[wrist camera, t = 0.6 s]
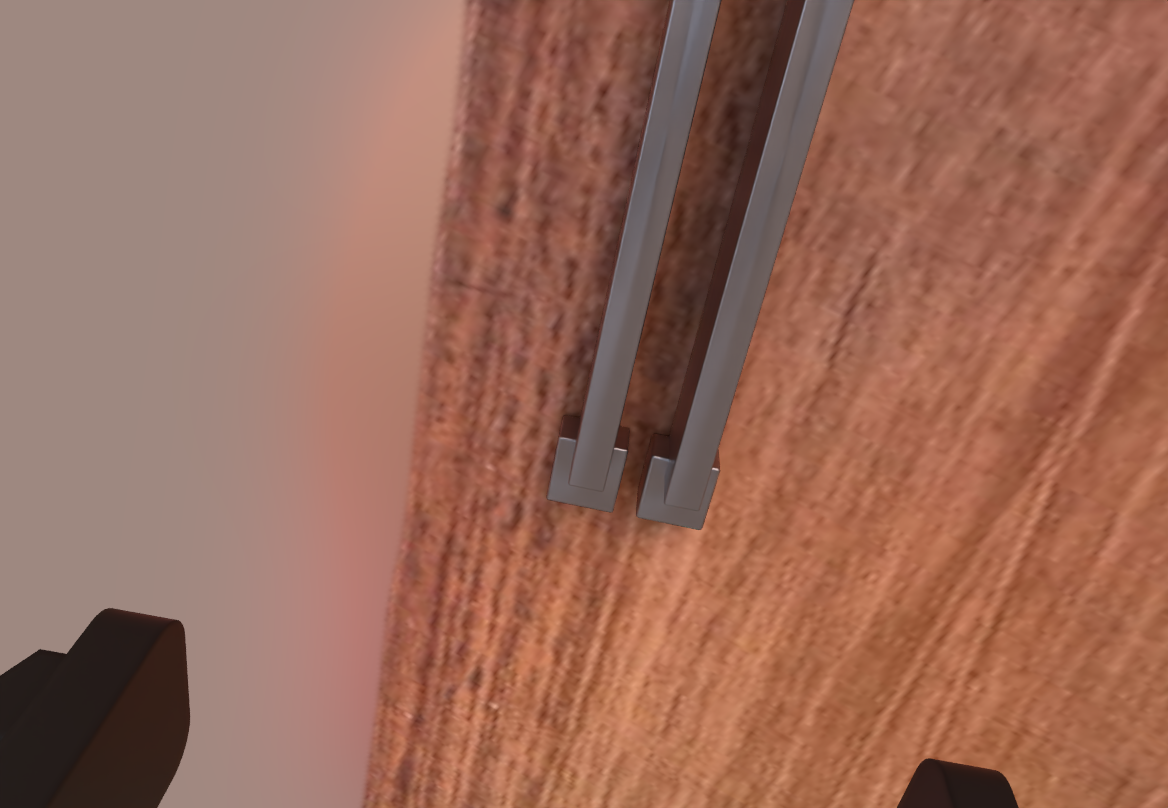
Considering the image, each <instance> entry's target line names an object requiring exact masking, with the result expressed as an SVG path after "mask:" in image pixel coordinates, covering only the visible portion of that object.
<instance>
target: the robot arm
mask: <svg viewBox="0 0 1168 808" xmlns="http://www.w3.org/2000/svg"><path fill="white" fill-rule="evenodd" d="M188 692H189V691H188V675H187V661H186V644H185V631H184V627H183V625H182V623H181V622H180V621H179V620H174V619H168V618H162V617H157V616H152V615H146V614H140V613H135V612H129V611H123V610H118V609H113V608H108V609H105V610H103V611H101V612H100V613H99V614H98V615H97V616H96V617H95V618H94V619H93V620H92V621H91V623H90V624H89V626H88V627H87V628H86V629H85V631H84V632H83V633H82V635H81V636H80V637H79V639H78V640H77V641H76V642H75V644H74V645H73V646H72V648H71V649H70V650H69V652H68V653H67V654H64V653H58V652H52V651H46V650H41V649H40V650H38V651H37V652H35V653H34V654H32V655H31V656H29V657H28V658H26V659H25V660H23V661H22V662H20V663H19V664H17V665H16V666H14V667H13V668H11V669H10V670H8V671H7V672H5V673H4V674H2V675H1V676H0V808H157V807H158V805H159V803H160V801H161V800H162V798H163V796H164V794H165V792H166V791H167V789H168V787H169V785H170V783H171V781H172V779H173V777H174V775H175V773H176V771H177V769H178V766H179V764H180V761H181V759H182V756H183V753H184V749H185V746H186V742H187V737H188V732H189V726H190V708H189V693H188ZM897 808H1018V805H1017V802H1016V800H1015V797H1014V794H1013V791H1012V789H1011V787H1010V784H1009V782H1008V781H1007V779H1006V778H1005V777H1004V775H1003V774H1002V773H1000V772H999V771H996V770H991V769H985V768H980V767H974V766H969V765H963V764H958V763H952V762H946V761H941V760H935V759H930V758H929V759H925V760H924V761H922V762H921V763H920V765H919V766H918V768H917V769H916V771H915V773H914V775H913V777H912V779H911V781H910V783H909V785H908V787H907V789H906V791H905V793H904V795H903V797H902V799H901V801H900V803H899V805H898V806H897Z"/></svg>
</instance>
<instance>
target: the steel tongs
mask: <svg viewBox="0 0 1168 808" xmlns="http://www.w3.org/2000/svg"><path fill="white" fill-rule="evenodd" d="M853 3H854V0H787V4H786V7H785V11H784V15H783V19H782V22H781V26H780V30H779V33H778V37H777V41H776V44H775V48H774V52H773V55H772V59H771V63H770V66H769V70H768V74H767V78H766V81H765V85H764V89H763V92H762V96H761V100H760V103H759V107H758V111H757V114H756V118H755V122H754V125H753V129H752V133H751V137H750V140H749V144H748V148H747V151H746V155H745V159H744V162H743V166H742V170H741V173H740V177H739V181H738V184H737V188H736V192H735V196H734V199H733V203H732V207H731V210H730V214H729V218H728V221H727V225H726V229H725V232H724V236H723V240H722V243H721V247H720V251H719V255H718V258H717V262H716V266H715V269H714V273H713V277H712V280H711V284H710V288H709V291H708V295H707V299H706V302H705V306H704V310H703V314H702V317H701V321H700V325H699V328H698V332H697V336H696V339H695V343H694V347H693V350H692V354H691V358H690V361H689V365H688V369H687V373H686V376H685V380H684V384H683V387H682V391H681V395H680V398H679V402H678V406H677V409H676V413H675V417H674V420H673V424H672V428H671V431H670V435H669V436H665V435H660V434H653V435H652V437H651V441H650V445H649V449H648V453H647V457H646V460H645V464H644V468H643V472H642V476H641V480H640V483H639V487H638V491H637V504H636V516H637V517H638V518H642V519H647V520H652V521H657V522H662V523H667V524H672V525H676V526H681V527H686V528H691V529H696V530H701V529H702V528H703V525H704V522H705V518H706V515H707V512H708V509H709V505H710V502H711V499H712V496H713V492H714V489H715V486H716V483H717V479H718V476H719V473H720V462H719V450H718V448H719V445H720V441H721V438H722V435H723V431H724V428H725V425H726V421H727V418H728V415H729V412H730V408H731V405H732V402H733V398H734V395H735V392H736V388H737V385H738V382H739V379H740V375H741V372H742V369H743V365H744V362H745V359H746V355H747V352H748V349H749V346H750V342H751V339H752V336H753V332H754V329H755V326H756V323H757V319H758V316H759V313H760V309H761V306H762V303H763V299H764V296H765V293H766V290H767V286H768V283H769V280H770V276H771V273H772V270H773V266H774V263H775V260H776V257H777V253H778V250H779V247H780V243H781V240H782V237H783V233H784V230H785V227H786V224H787V220H788V217H789V214H790V210H791V207H792V204H793V201H794V197H795V194H796V191H797V187H798V184H799V181H800V177H801V174H802V171H803V168H804V164H805V161H806V158H807V154H808V151H809V148H810V144H811V141H812V138H813V135H814V131H815V128H816V125H817V121H818V118H819V115H820V111H821V108H822V105H823V102H824V98H825V95H826V92H827V88H828V85H829V82H830V79H831V75H832V72H833V69H834V65H835V62H836V59H837V55H838V52H839V49H840V46H841V42H842V39H843V36H844V32H845V29H846V26H847V22H848V19H849V16H850V13H851V9H852V6H853ZM720 4H721V0H670V1H669V6H668V11H667V15H666V20H665V25H664V29H663V34H662V39H661V43H660V48H659V53H658V57H657V62H656V67H655V71H654V76H653V81H652V85H651V90H650V95H649V99H648V104H647V109H646V113H645V118H644V122H643V127H642V132H641V136H640V141H639V146H638V150H637V155H636V160H635V164H634V169H633V174H632V178H631V183H630V188H629V192H628V197H627V202H626V206H625V211H624V216H623V220H622V225H621V230H620V234H619V239H618V244H617V248H616V253H615V258H614V262H613V267H612V272H611V276H610V281H609V285H608V290H607V295H606V299H605V304H604V309H603V313H602V318H601V323H600V327H599V332H598V337H597V341H596V346H595V351H594V355H593V360H592V365H591V369H590V374H589V379H588V383H587V388H586V393H585V397H584V402H583V407H582V411H581V416H580V418H578V417H573V416H568V415H564V416H563V418H562V423H561V428H560V433H559V438H558V443H557V448H556V453H555V458H554V462H553V467H552V472H551V477H550V482H549V487H548V492H547V499H548V500H551V501H556V502H561V503H566V504H571V505H576V506H581V507H586V508H591V509H596V510H601V511H606V512H613V510H614V506H615V502H616V498H617V494H618V490H619V486H620V482H621V478H622V474H623V470H624V466H625V462H626V458H627V454H628V446H629V433H630V430H629V428H627V427H622V426H620V422H621V417H622V413H623V409H624V405H625V401H626V397H627V392H628V388H629V384H630V380H631V376H632V371H633V367H634V363H635V359H636V355H637V351H638V346H639V342H640V338H641V334H642V330H643V326H644V321H645V317H646V313H647V309H648V305H649V301H650V296H651V292H652V288H653V284H654V280H655V275H656V271H657V267H658V263H659V259H660V255H661V250H662V246H663V242H664V238H665V234H666V230H667V225H668V221H669V217H670V213H671V209H672V204H673V200H674V196H675V192H676V188H677V184H678V179H679V175H680V171H681V167H682V163H683V159H684V154H685V150H686V146H687V142H688V138H689V134H690V129H691V125H692V121H693V117H694V113H695V108H696V104H697V100H698V96H699V92H700V88H701V83H702V79H703V75H704V71H705V67H706V63H707V58H708V54H709V50H710V46H711V42H712V38H713V33H714V29H715V25H716V21H717V17H718V12H719V8H720Z"/></svg>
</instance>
